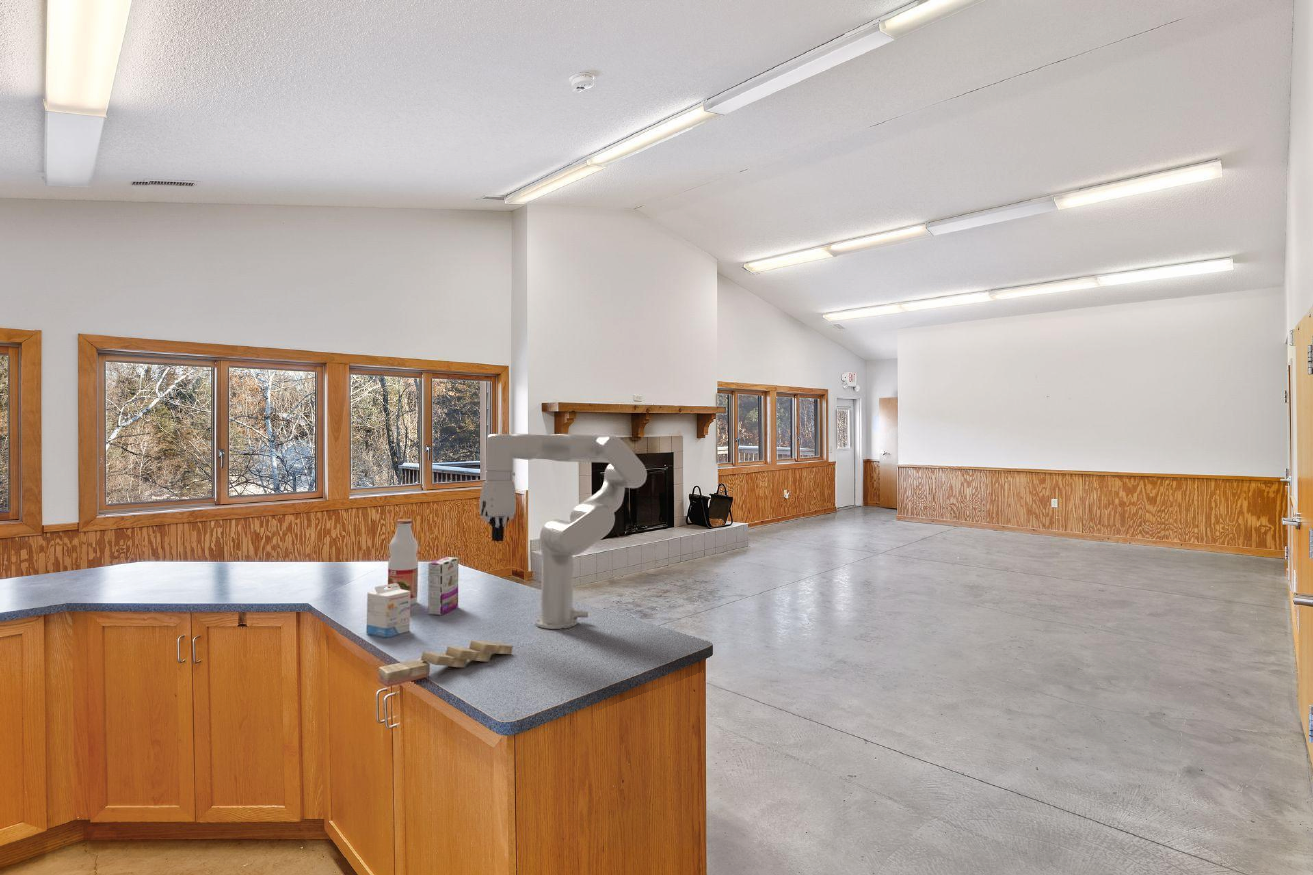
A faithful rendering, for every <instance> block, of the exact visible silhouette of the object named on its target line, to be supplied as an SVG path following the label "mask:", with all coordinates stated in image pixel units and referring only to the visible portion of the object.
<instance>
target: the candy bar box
mask: <svg viewBox="0 0 1313 875" xmlns="http://www.w3.org/2000/svg"><path fill="white" fill-rule="evenodd" d="M427 569H428V573H427V574H428V576H427V577H428V580H427V582H428V584H427V585H428V588H427V589H428V590H427V594H428V596H427V598H428V599H427V600H428V602H427V603H428V606H427V608H428V609H427V612H428V615H431V616H432V615H433V616H434V615H435V616H442V615H444V614H446V613H449V612H451V611H453V610H454V609H456V608H458V607H459V557H451V556H450V557H449V556H445V557H442V558H440V559H436V560H434V561H432V562H429V563H428V568H427Z"/></svg>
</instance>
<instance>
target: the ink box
mask: <svg viewBox="0 0 1313 875" xmlns="http://www.w3.org/2000/svg"><path fill="white" fill-rule="evenodd" d="M386 587H387V588H386ZM388 587H391V588H388ZM374 589H375V590H374V591H368V592H367V594H366V595H367V596H366V597H367V598H366V603H367V604H366V628H365V630H366V633H368V634H367V635H371V634H373V635H372V636H377V637H381V638H385V637H386V639H387V638H390V637H394V636H396V635H395V634H397V635H401V634H403V632H404V633H407V632H410V624H411V605H410V592H411V591H407V590H402V589H401V588H400V587H399V585H398V584H397V583H393V584H389V585H388V584H384V585H379V586H375V587H374ZM366 633H365V634H366ZM393 635H394V636H393ZM389 636H390V637H389Z"/></svg>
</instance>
